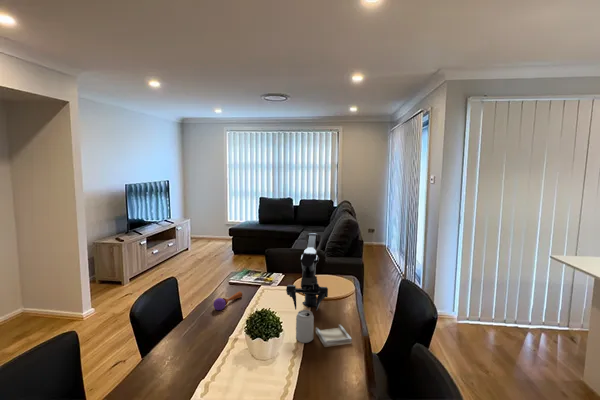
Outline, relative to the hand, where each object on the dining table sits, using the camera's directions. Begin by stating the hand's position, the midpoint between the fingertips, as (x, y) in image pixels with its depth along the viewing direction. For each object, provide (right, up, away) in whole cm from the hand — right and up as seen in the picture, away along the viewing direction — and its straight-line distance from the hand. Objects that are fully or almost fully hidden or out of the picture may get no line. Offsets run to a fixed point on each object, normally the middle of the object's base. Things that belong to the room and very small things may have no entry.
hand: (305, 309), depth 142 cm
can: (-1, -12, -3) cm, 12 cm away
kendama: (-41, -7, +29) cm, 51 cm away
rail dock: (+12, -12, -1) cm, 17 cm away
